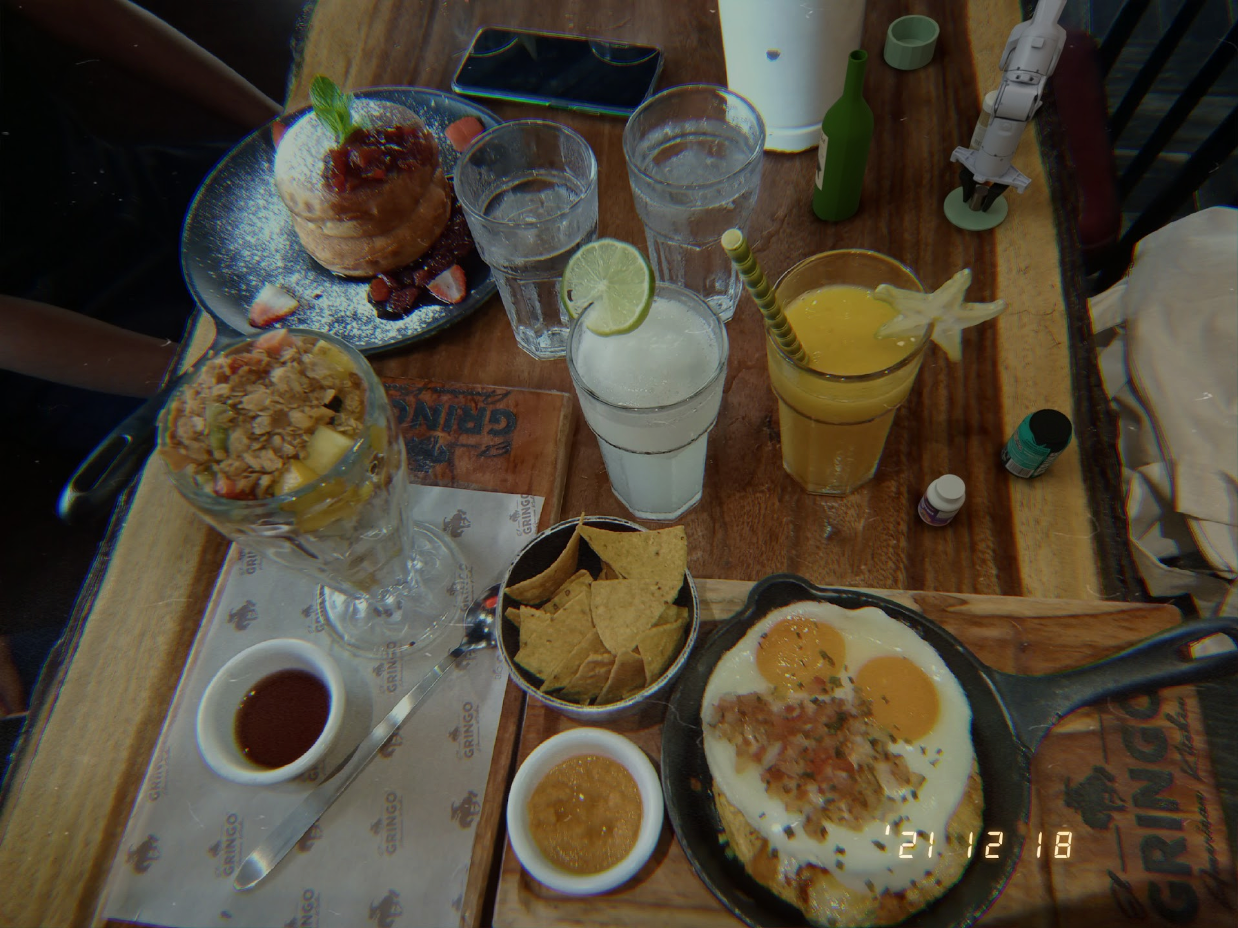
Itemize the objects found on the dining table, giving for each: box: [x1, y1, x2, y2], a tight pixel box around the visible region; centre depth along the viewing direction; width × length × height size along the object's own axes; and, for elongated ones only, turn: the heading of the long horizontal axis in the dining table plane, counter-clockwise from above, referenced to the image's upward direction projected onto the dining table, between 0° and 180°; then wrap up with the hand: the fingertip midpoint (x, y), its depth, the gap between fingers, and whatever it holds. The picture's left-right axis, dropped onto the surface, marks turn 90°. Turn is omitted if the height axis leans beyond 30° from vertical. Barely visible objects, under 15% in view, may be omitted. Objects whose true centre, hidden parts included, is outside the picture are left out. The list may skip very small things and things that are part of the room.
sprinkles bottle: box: [968, 89, 998, 151], centre depth 140 cm, size 5×5×13 cm
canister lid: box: [943, 184, 1009, 232], centre depth 138 cm, size 11×11×5 cm
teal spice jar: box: [1000, 408, 1073, 480], centre depth 112 cm, size 7×7×12 cm
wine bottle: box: [812, 49, 875, 222], centre depth 132 cm, size 9×9×32 cm
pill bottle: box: [917, 473, 966, 527], centre depth 112 cm, size 5×5×10 cm
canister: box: [883, 14, 941, 71], centre depth 160 cm, size 10×10×6 cm
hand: (976, 204), depth 139 cm, fingers open, 3 cm apart
